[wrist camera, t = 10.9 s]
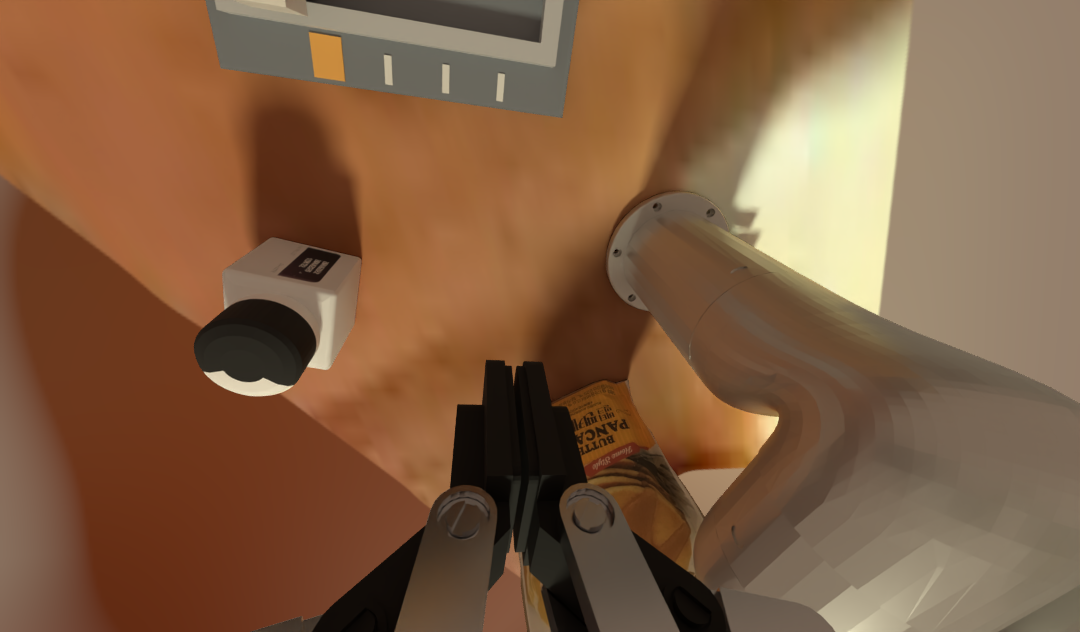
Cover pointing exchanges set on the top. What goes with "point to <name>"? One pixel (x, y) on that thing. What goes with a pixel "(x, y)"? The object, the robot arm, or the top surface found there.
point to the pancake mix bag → (624, 481)
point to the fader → (279, 5)
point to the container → (279, 317)
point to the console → (411, 47)
